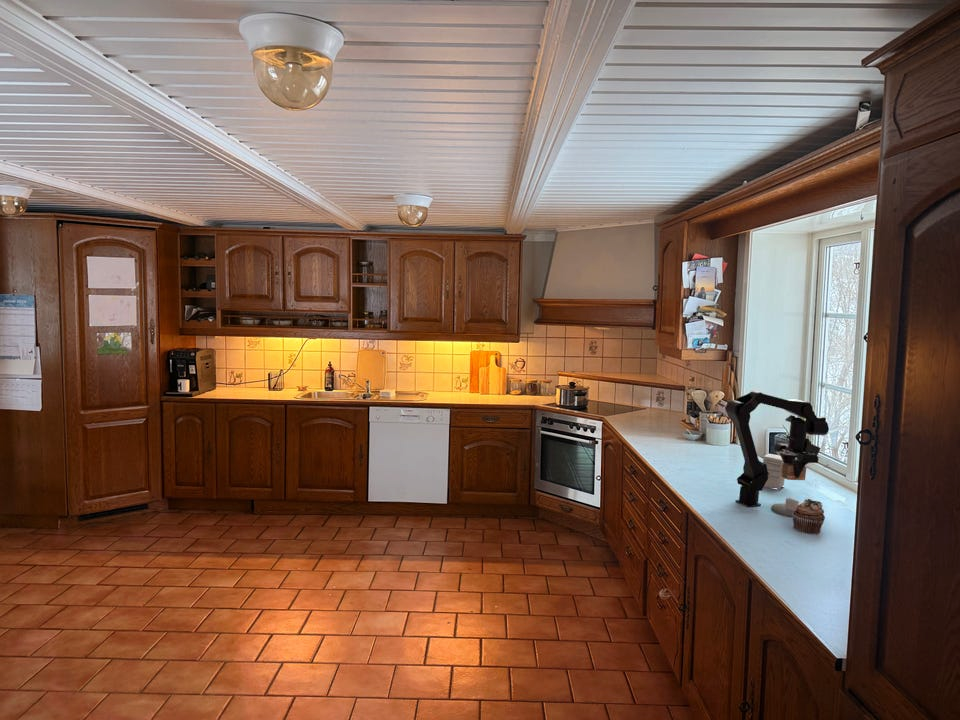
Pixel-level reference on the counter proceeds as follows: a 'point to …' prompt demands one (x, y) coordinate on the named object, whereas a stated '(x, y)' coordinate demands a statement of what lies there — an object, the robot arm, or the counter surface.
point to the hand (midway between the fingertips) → (793, 475)
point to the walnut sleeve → (791, 472)
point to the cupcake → (808, 517)
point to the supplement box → (774, 471)
